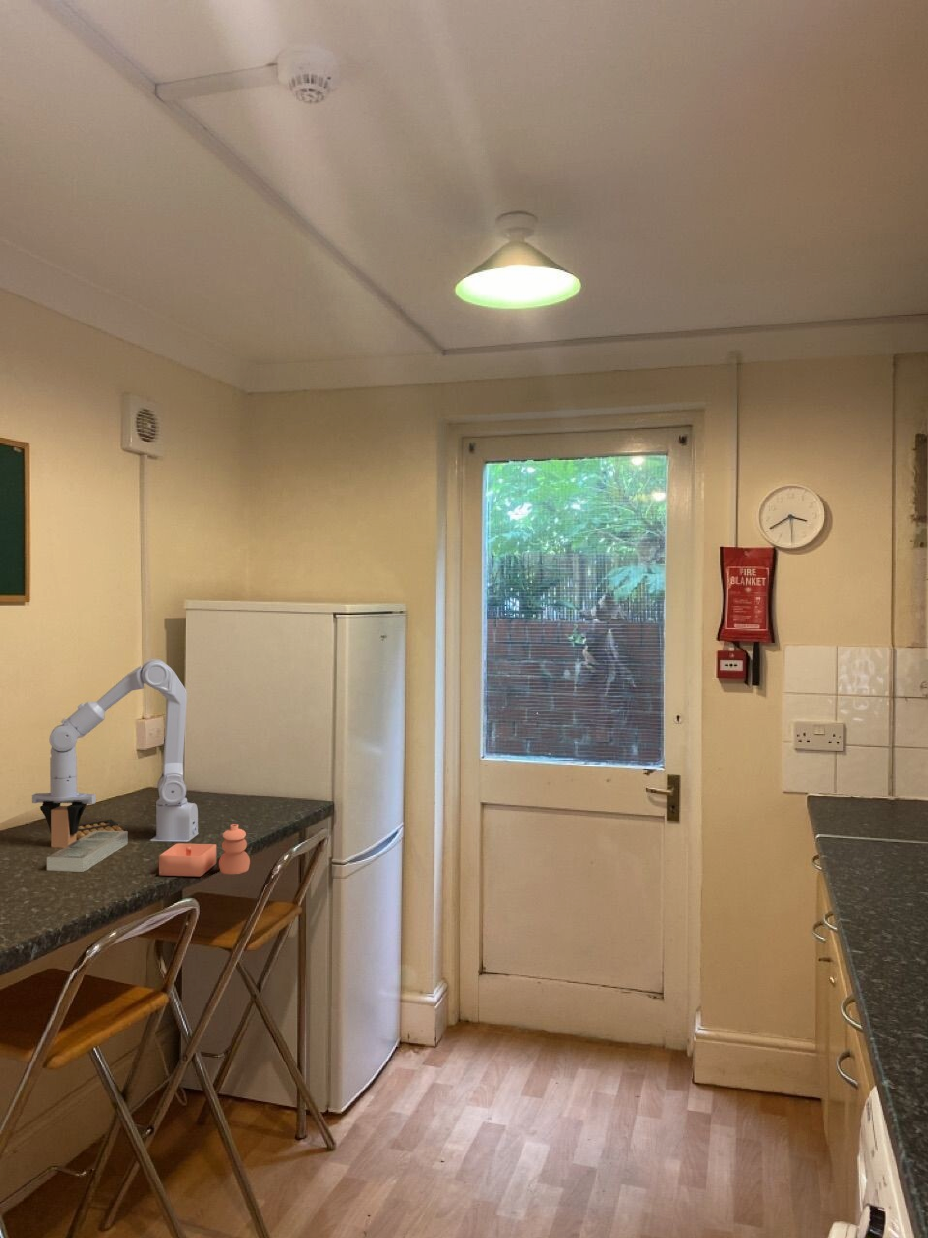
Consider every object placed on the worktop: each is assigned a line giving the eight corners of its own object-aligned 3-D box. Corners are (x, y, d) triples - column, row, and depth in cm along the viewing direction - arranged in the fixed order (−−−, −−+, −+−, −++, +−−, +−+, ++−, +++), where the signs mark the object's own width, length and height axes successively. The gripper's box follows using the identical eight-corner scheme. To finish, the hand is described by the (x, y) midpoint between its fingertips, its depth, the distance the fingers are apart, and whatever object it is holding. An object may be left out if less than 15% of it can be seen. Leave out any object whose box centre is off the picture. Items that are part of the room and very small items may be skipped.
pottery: (159, 875, 191) (158, 829, 191) (176, 862, 200) (176, 818, 200) (242, 877, 189) (242, 831, 189) (255, 864, 199) (255, 820, 199)
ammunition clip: (67, 833, 222) (84, 846, 213) (67, 826, 222) (84, 838, 213) (111, 826, 229) (129, 838, 220) (111, 819, 229) (129, 830, 220)
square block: (76, 843, 214) (76, 806, 213) (68, 848, 210) (67, 810, 209) (60, 843, 214) (59, 805, 214) (51, 848, 210) (51, 809, 210)
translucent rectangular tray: (94, 843, 214) (94, 830, 214) (127, 843, 214) (127, 831, 214) (46, 871, 192) (46, 857, 192) (83, 872, 192) (83, 858, 192)
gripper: (101, 773, 215) (101, 829, 215) (42, 772, 216) (43, 828, 216) (87, 779, 208) (87, 837, 208) (26, 778, 209) (27, 836, 209)
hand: (64, 833), depth 212 cm, fingers closed on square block, 4 cm apart
